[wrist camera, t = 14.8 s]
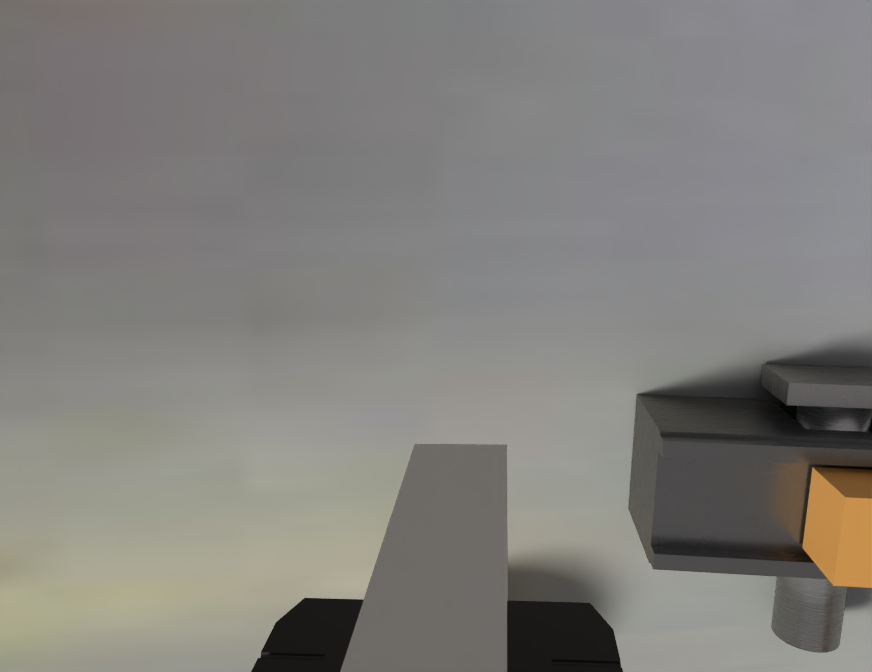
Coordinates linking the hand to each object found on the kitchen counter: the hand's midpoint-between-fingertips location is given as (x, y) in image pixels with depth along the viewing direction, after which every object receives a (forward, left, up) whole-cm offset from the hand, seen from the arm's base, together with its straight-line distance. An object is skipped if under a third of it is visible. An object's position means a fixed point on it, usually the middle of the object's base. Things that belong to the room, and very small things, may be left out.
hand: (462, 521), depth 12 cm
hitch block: (+8, +14, -24) cm, 29 cm away
